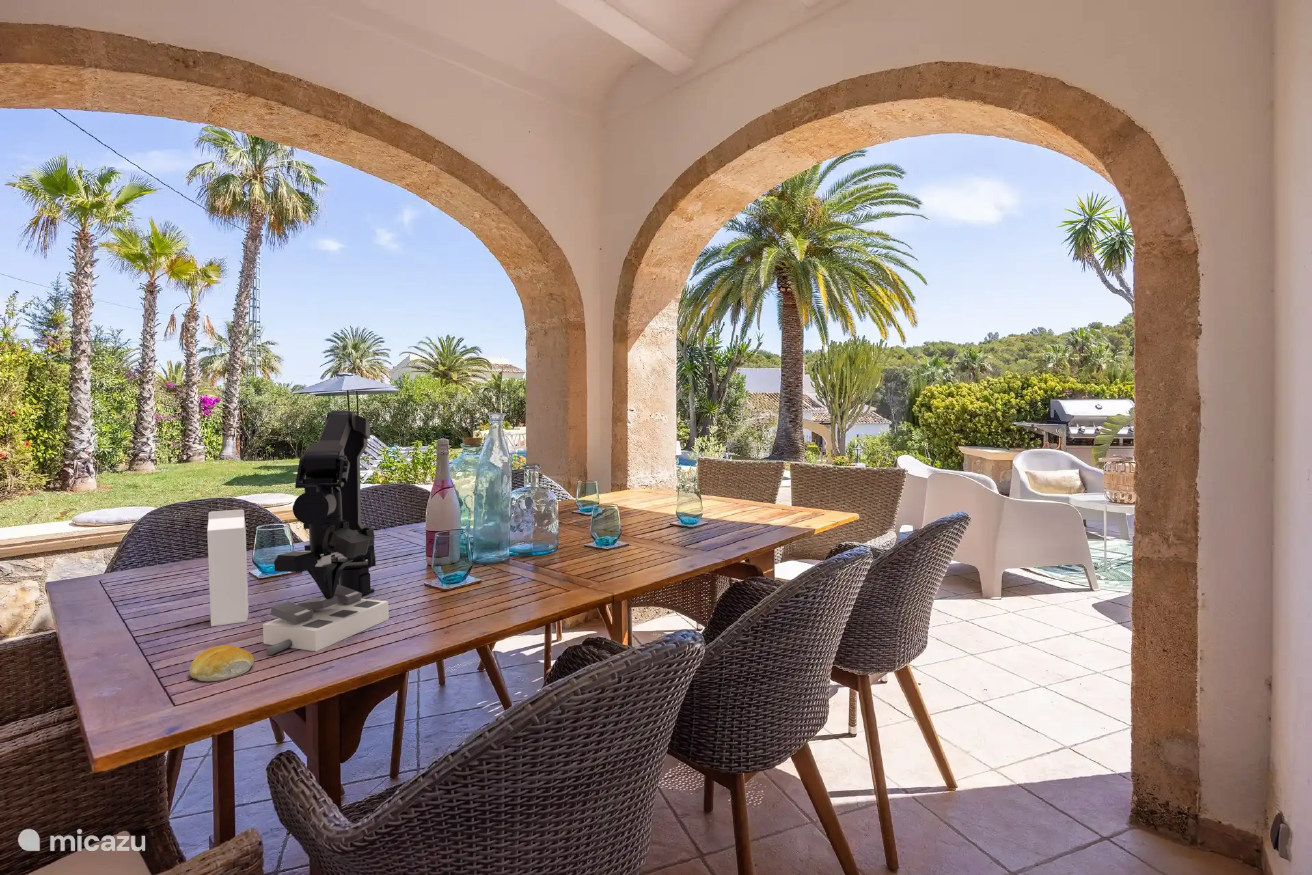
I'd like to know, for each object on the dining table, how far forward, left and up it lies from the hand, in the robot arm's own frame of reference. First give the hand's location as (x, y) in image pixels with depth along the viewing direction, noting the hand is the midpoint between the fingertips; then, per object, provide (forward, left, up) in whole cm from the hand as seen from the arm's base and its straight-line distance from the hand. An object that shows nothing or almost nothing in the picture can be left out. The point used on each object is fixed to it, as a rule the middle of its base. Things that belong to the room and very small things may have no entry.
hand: (329, 598), depth 124 cm
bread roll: (-2, -20, -7) cm, 21 cm away
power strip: (0, -2, -6) cm, 7 cm away
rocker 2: (-3, +6, -1) cm, 7 cm away
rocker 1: (-3, -6, -1) cm, 7 cm away
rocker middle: (-3, 0, -1) cm, 3 cm away
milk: (-24, -1, -6) cm, 25 cm away
